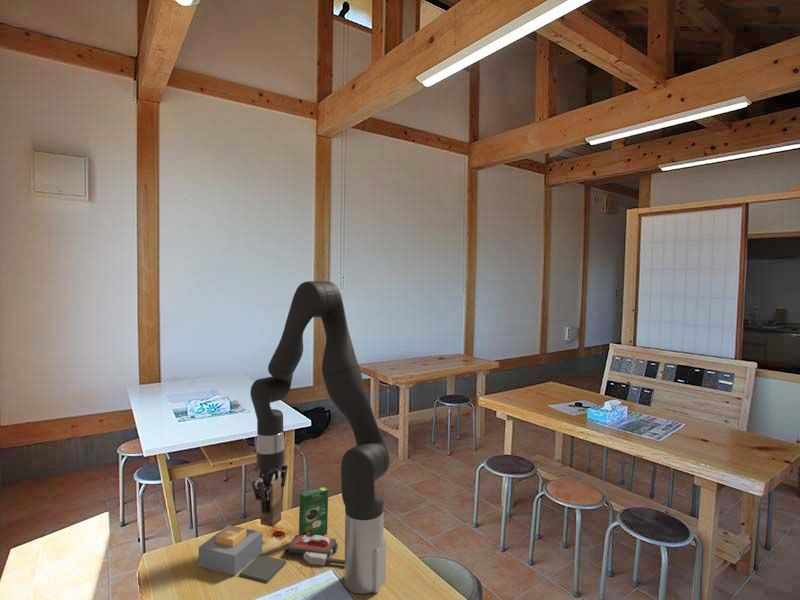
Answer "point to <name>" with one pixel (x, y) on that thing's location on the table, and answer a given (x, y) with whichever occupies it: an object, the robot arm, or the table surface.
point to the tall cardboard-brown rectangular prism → (273, 505)
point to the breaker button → (231, 536)
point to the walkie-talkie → (314, 549)
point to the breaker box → (230, 553)
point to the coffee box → (313, 512)
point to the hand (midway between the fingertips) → (270, 508)
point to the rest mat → (263, 568)
